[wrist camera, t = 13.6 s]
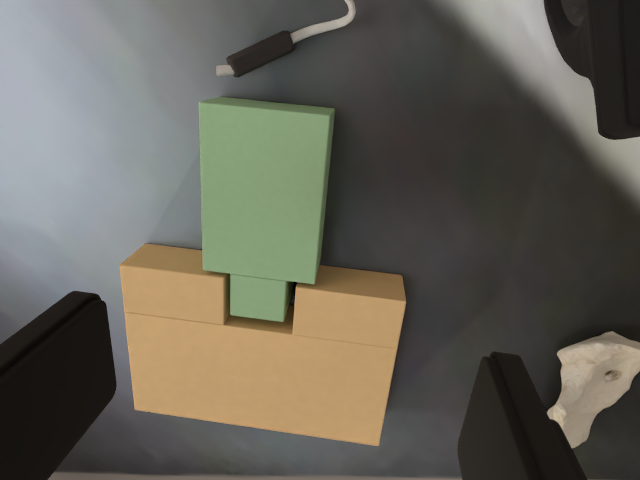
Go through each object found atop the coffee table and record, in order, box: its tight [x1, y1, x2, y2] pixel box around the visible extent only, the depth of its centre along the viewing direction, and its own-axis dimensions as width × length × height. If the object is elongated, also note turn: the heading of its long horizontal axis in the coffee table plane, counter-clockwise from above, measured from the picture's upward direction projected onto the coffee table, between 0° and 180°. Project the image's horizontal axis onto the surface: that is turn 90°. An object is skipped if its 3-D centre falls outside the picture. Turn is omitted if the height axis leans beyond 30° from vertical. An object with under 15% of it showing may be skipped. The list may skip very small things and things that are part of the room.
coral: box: [547, 331, 640, 448], centre depth 29 cm, size 6×10×4 cm, turn 170°
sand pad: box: [120, 244, 406, 446], centre depth 31 cm, size 18×12×4 cm, turn 85°
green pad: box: [199, 97, 335, 322], centre depth 27 cm, size 7×13×4 cm, turn 175°
